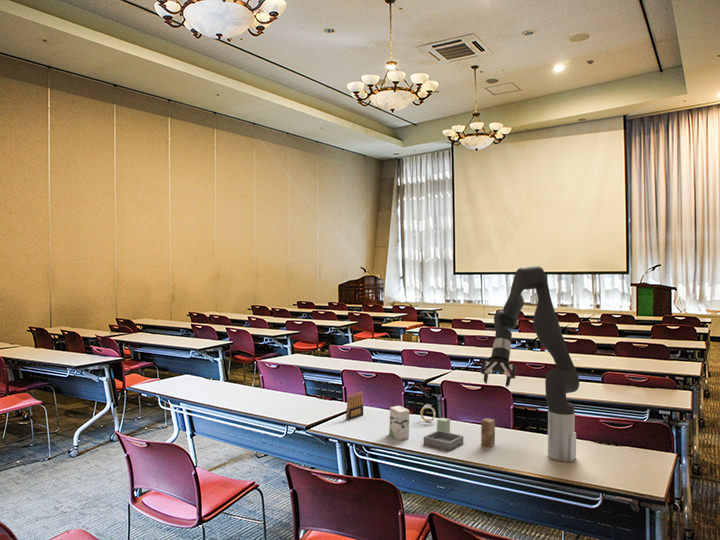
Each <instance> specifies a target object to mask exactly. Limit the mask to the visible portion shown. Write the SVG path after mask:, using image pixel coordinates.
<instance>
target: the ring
mask: <svg viewBox="0 0 720 540" xmlns="http://www.w3.org/2000/svg"><path fill="white" fill-rule="evenodd" d="M425 409H430V410H431V411H432V412H433V417H432V418H431V419H428V418H427V419H426V418H425V416H424V414H423V412H424V410H425ZM419 414H420V417H421V419H422V420H423V421H425V422H426V423H431V422H433V421H434V419H436V414H437V413H436V410H435V408H434V407H432V405H431V404H429V403H427V404H423V406H422V408H421V410H420V413H419Z"/></svg>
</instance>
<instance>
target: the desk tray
mask: <svg viewBox="0 0 720 540" xmlns="http://www.w3.org/2000/svg"><path fill="white" fill-rule="evenodd" d="M423 445H424V446H429V447H432V448H437V449H440V450H444V451H447V452H450V451H452V450H454V449H456V448H458V447H460V446H462V445H464V435H460V434H456V433H451V432H450V433H448V432H444V431H440V430H438V431H437V430H436V431H433V432H431V433H429V434H427V435H425V436H423Z"/></svg>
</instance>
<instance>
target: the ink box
mask: <svg viewBox="0 0 720 540" xmlns="http://www.w3.org/2000/svg"><path fill="white" fill-rule="evenodd" d="M388 431H389V433H388V434H389V435H390V436H392V437H394V438H395V439H397V440H399V441H401V440H403V441H404V440H408V439H409V437H410V410H409V409H408V408H405V407H403V406H401V405H395V406H390V407H389V430H388Z"/></svg>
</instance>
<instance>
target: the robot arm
mask: <svg viewBox="0 0 720 540" xmlns="http://www.w3.org/2000/svg"><path fill="white" fill-rule="evenodd" d="M549 288H550V287H549V284H548V280H547V277H546V273H545V270H544V269H543V267H542V266H540V265H533V266H531V265H529V266H523V267H519V268H518V269H517V270H516V271H515V273H514V276H513V280H512V284H511V288H510V291H509V296H508V297H507V300H506V302H505V303H504V305H503V307H502V310H497V311H496V312H495V313H494V316H493V324H494V329H495V334H494V335H495V336H494V341H493V345H492V349H491V350H492V351H491V355H490V357H491V358H490V360H489V361H488V360H486V359H484V358H483V360H482V364H481V365H480V366H481V367H480V374H481V375H483V383H484V384H486V385H487V384H488V380H489V375H491V374H492V373H493V372H494V373H500V374H504V375H505V377H506V382H505V387H506V388H509V386H510V385H511V380H512V379H516V374H517V372H516V370H517V365H516V363H512V364H511V363H510V355H511V351H512V350H511V348H512V338H513V337H512V335H513V333H512V331H511V330H513V329H515V328H517V326H518V323H519V315H520V312H522V309H523V307H524V305H525V304H524V302H525V300H524V297H523V295H522V293H523V292H524V291H525V290H528V291H529V290H535V291H536V294H537V304H536V308H535V312H534V315H533V317H532V323H533V327H534V331H535V334H536V336H537V339H538V341H539V342H540V343H541V344H542V346H543V347H544V348H545V349H546V350H547V352H548V353H549V354H550V355H551V357H552V359H553V361H554V364H555V367H556V368H553V369H550V370H549V371H548V372H547V373H546V375H545V380H544V381H545V383H544V385H545V401H546V404H547V410H548V411H547V420H548V421H547V457H548V458H550V459H552V460H555V461H558V462H567V463H568V462H569V463H572V462H574V460H575V459H576V458H577V432H575V418H576V417H575V409H576V407H575V404H573V403H571V402H569V401H568V400H567V394H571V393H575V392H577V391H578V390H579V387H580V377H579V373H578V372H577V370H576V367H575V365H574V362H573V361H572V358H571V356H570V353H569V351H568V348H567V345H566V341H565V339H564V336H563V333H562V329H561V326H560V322H559V319H558V317H557V314H556V311H555V308H554V303H553V301H552V297H551V292H550V289H549ZM488 365H489V367H488V368H487V369H486V367H487V366H488ZM508 369H510V370H512V372H511V374H510V372H509V370H508Z"/></svg>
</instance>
